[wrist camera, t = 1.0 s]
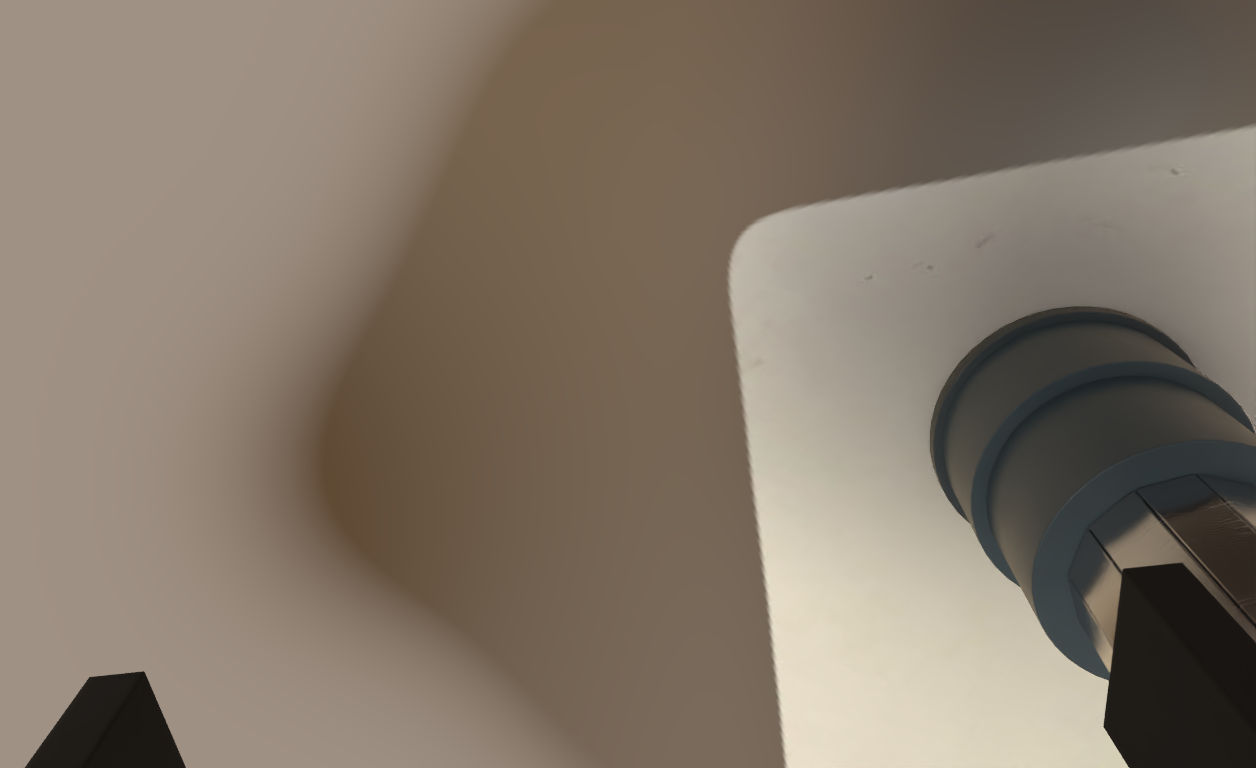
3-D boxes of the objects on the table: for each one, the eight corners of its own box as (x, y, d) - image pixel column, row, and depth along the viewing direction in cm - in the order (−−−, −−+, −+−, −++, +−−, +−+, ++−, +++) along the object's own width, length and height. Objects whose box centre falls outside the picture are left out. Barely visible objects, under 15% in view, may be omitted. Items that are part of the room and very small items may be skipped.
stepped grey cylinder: (901, 353, 43) (968, 471, 32) (1177, 270, 41) (1352, 366, 30) (962, 570, 47) (1040, 742, 36) (1218, 505, 45) (1387, 668, 34)
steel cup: (1051, 510, 32) (1170, 683, 24) (1283, 449, 31) (1495, 611, 23) (1091, 680, 35) (1213, 892, 26) (1309, 632, 33) (1511, 839, 25)
